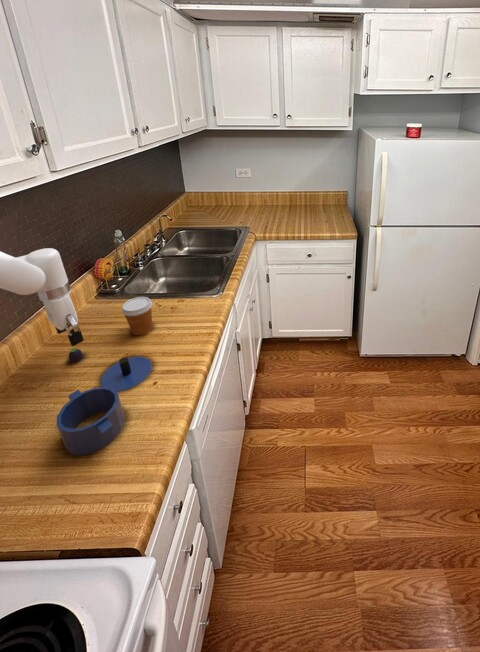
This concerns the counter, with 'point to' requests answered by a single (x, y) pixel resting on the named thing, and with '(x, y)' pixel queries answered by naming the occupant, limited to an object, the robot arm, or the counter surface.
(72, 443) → the pot
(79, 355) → the blackberry
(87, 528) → the counter surface
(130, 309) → the disposable coffee cup
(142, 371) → the lid
